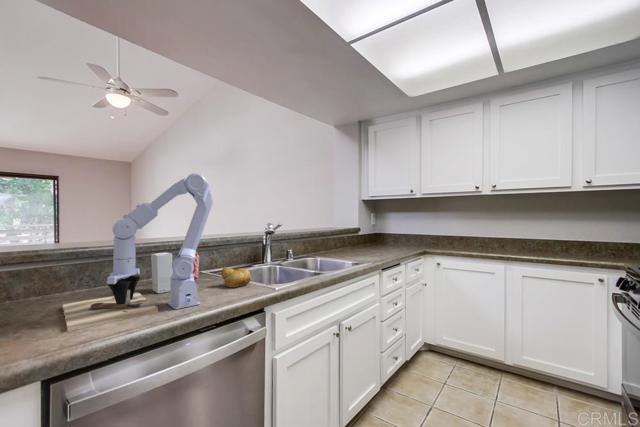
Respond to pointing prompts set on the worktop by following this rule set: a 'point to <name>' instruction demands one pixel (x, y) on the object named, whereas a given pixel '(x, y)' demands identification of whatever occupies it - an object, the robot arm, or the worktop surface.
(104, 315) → the dial board
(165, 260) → the skincare box
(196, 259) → the soda can
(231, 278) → the potato
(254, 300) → the worktop surface
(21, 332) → the worktop surface
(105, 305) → the lever
